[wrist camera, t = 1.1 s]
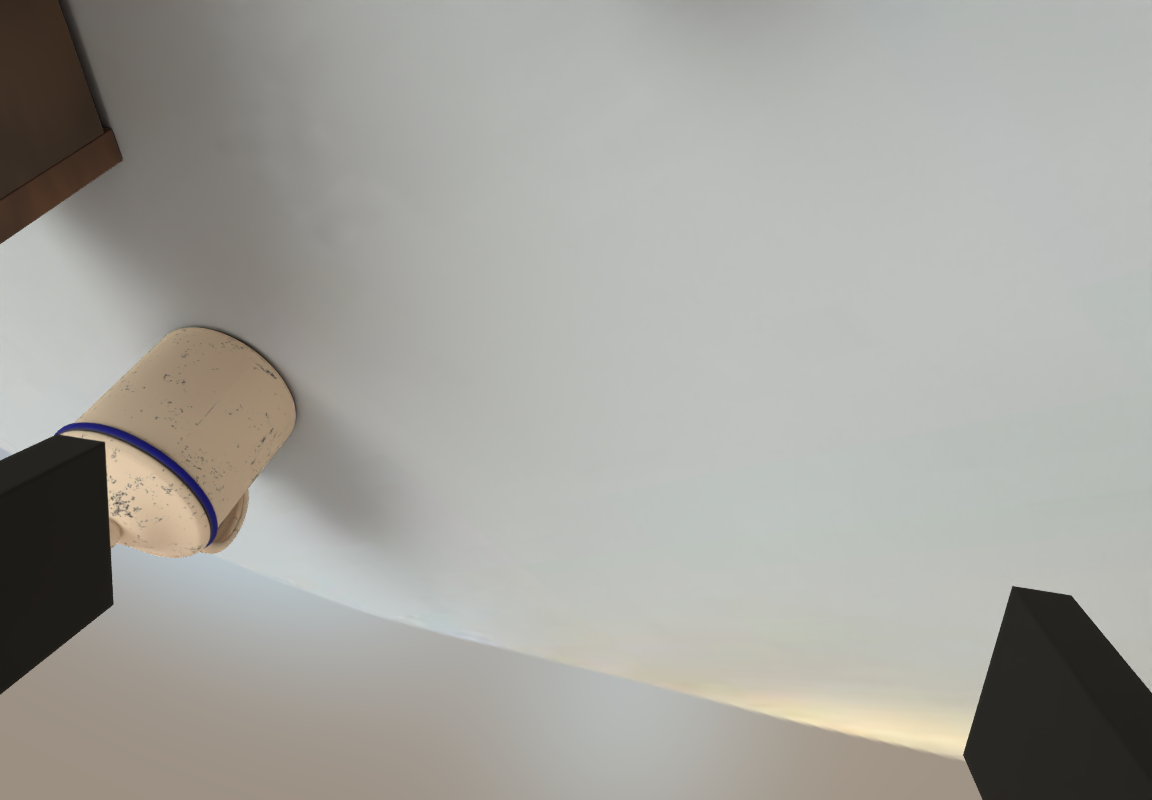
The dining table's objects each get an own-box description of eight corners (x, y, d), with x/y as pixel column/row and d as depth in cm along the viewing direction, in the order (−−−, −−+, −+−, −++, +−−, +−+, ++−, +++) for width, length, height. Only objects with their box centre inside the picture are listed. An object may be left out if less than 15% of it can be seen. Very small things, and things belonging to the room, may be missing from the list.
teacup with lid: (131, 314, 49) (-34, 460, 40) (269, 326, 46) (122, 486, 38) (215, 467, 56) (91, 615, 48) (338, 485, 54) (228, 647, 45)
